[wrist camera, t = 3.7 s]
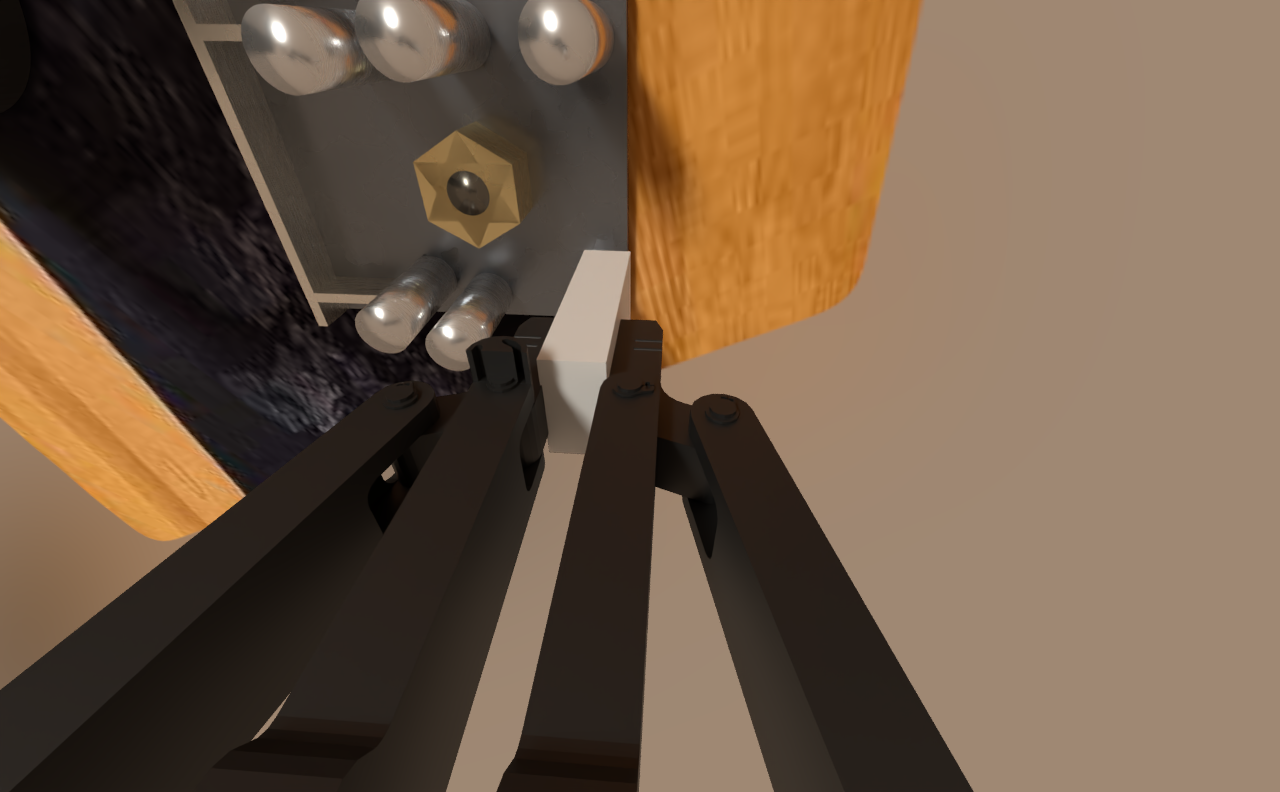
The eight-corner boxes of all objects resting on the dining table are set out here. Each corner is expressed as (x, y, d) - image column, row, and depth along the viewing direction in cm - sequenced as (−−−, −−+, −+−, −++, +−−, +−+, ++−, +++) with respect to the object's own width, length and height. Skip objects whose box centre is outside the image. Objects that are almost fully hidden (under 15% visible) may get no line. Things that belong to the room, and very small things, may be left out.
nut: (454, 229, 29) (434, 247, 26) (429, 119, 25) (404, 129, 23) (536, 231, 29) (523, 250, 26) (522, 122, 25) (507, 131, 23)
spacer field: (342, 302, 33) (267, 364, 27) (212, -21, 23) (41, -40, 17) (628, 312, 32) (618, 379, 26) (627, -16, 22) (609, -35, 16)
